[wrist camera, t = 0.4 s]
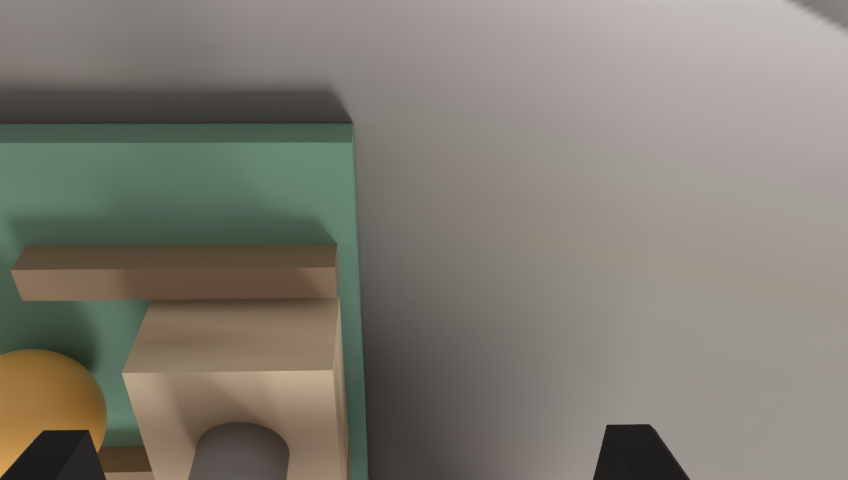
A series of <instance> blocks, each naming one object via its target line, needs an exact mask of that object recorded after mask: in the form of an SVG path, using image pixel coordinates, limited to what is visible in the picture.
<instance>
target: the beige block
mask: <svg viewBox="0 0 848 480" xmlns="http://www.w3.org/2000/svg"><path fill="white" fill-rule="evenodd" d="M122 376H123V379H124V382H125V385H126V389H127V392H128V395H129V398H130V401H131V405H132V408H133V411H134V414H135V417H136V420H137V424H138V427H139V430H140V433H141V436H142V440H143V443H144V446H145V449H146V452H147V456H148V459H149V462H150V465H151V468H152V471H153V475H154V478H155V480H346V477H347V460H348V442H349V437H348V422H347V406H346V391H345V375H344V359H343V344H342V328H341V313H340V297H339V295H337V298H269V299H169V300H151V302H150V304H149V307H148V309H147V312H146V314H145V317H144V319H143V322H142V324H141V327H140V329H139V332H138V334H137V337H136V339H135V342H134V344H133V347H132V349H131V351H130V354H129V356H128V359H127V361H126V364H125V366H124V369H123V371H122Z"/></svg>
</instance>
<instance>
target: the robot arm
mask: <svg viewBox="0 0 848 480" xmlns="http://www.w3.org/2000/svg"><path fill="white" fill-rule="evenodd" d="M0 480H106V477H105V474H104V472H103V469H102V466H101V463H100V460H99V457H98V454H97V452H96V449H95V446H94V443H93V440H92V437H91V435H90V432H89V430H44V431H42V432H41V433H40V434H39V435H38V436H37V437H36V438H35V439H34V440H33V442H32V443H31V444H30V445H29V446H28V447H27V448H26V449H25V450H24V452H23V453H22V454H21V455H20V456H19V457H18V458H17V459H16V461H15V462H14V463H13V464H12V465H11V466H10V467H9V468H8V470H7V471H6V472H5V473H4V474H3V475H2V476H1V477H0ZM593 480H690V479H689V477H688V476H687V475H686V473H685V472H684V470H683V469H682V468H681V466H680V465H679V463H678V462H677V460H676V459H675V458H674V456H673V455H672V453H671V452H670V450H669V449H668V448H667V446H666V445H665V443H664V442H663V440H662V439H661V438H660V436H659V435H658V433H657V432H656V430H655V429H654V428H653V427H652V426H651V425H650V424H636V425H607V427H606V431H605V435H604V439H603V443H602V447H601V451H600V454H599V458H598V462H597V466H596V470H595V474H594V478H593Z"/></svg>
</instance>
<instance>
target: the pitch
mask: <svg viewBox="0 0 848 480" xmlns="http://www.w3.org/2000/svg"><path fill="white" fill-rule="evenodd" d="M337 295H339V297H340V313H341V328H342V344H343V359H344V375H345V391H346V406H347V422H348V437H349V442H348V460H347V477H346V480H369V479H368V455H367V432H366V408H365V384H364V360H363V337H362V313H361V289H360V265H359V242H358V218H357V194H356V170H355V147H354V123H225V124H0V355H2V354H5V353H8V352H12V351H17V350H25V349H42V350H48V351H53V352H57V353H60V354H63V355H65V356H68V357H70V358H72V359H74V360H75V361H77V362H79V363H80V364H81V365H83V366H84V367H85V368H86V369H87V370H88V371H89V372H90V373H91V374H92V375H93V377H94V378H95V379H96V380H97V382H98V384H99V386H100V388H101V390H102V392H103V394H104V398H105V402H106V406H107V426H106V432H105V436H104V439H103V442H102V445H101V447H100V449H99V451H98V453H97V454H98V457H99V460H100V463H101V466H102V469H103V472H104V474H105V477H106V480H155V478H154V475H153V471H152V468H151V465H150V462H149V459H148V456H147V452H146V449H145V446H144V443H143V440H142V436H141V433H140V430H139V427H138V424H137V420H136V417H135V414H134V411H133V408H132V405H131V401H130V398H129V395H128V392H127V389H126V385H125V382H124V379H123V376H122V371H123V369H124V366H125V364H126V361H127V359H128V356H129V354H130V351H131V349H132V347H133V344H134V342H135V339H136V337H137V334H138V332H139V329H140V327H141V324H142V322H143V319H144V317H145V314H146V312H147V309H148V307H149V304H150V302H151V300H169V299H269V298H337Z"/></svg>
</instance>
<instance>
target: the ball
mask: <svg viewBox="0 0 848 480" xmlns="http://www.w3.org/2000/svg"><path fill="white" fill-rule="evenodd" d="M106 426H107V406H106V402H105V398H104V394H103V392H102V390H101V388H100V386H99V384H98V382H97V380H96V379H95V378H94V377H93V375H92V374H91V373H90V372H89V371H88V370H87V369H86V368H85V367H84V366H83V365H81V364H80V363H79V362H77V361H75V360H74V359H72V358H70V357H68V356H65V355H63V354H60V353H57V352H53V351H48V350H42V349H25V350H17V351H12V352H8V353H5V354H2V355H0V477H1V476H2V475H3V474H4V473H5V472H6V471H7V470H8V468H9V467H10V466H11V465H12V464H13V463H14V462H15V461H16V459H17V458H18V457H19V456H20V455H21V454H22V453H23V452H24V450H25V449H26V448H27V447H28V446H29V445H30V444H31V443H32V442H33V440H34V439H35V438H36V437H37V436H38V435H39V434H40V433H41V432H42V431H44V430H89V432H90V435H91V437H92V440H93V443H94V446H95V449H96V452H97V453H98V451H99V449H100V447H101V445H102V442H103V439H104V436H105V432H106Z"/></svg>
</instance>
